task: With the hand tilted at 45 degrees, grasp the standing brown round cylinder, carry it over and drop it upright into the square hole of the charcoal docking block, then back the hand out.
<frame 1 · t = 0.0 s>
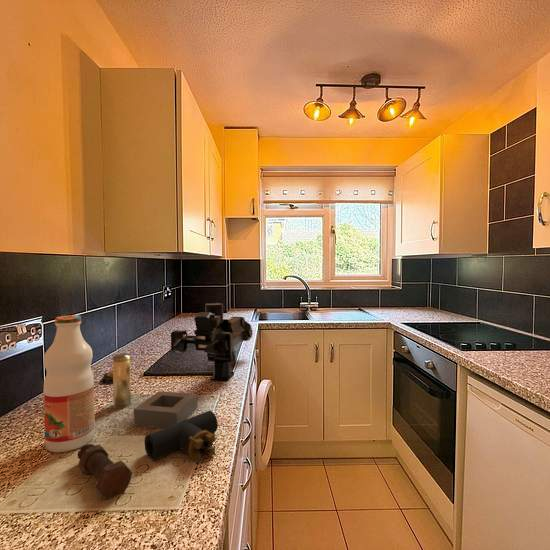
hand: (188, 349, 87), 17 cm above the worktop, tool horizontal, fingers open, 9 cm apart
docking block: (167, 416, 83), on the worktop
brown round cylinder: (122, 404, 90), on the worktop
bread roll: (115, 381, 111), on the worktop
pipe connector: (191, 451, 68), on the worktop
bolt: (100, 478, 60), on the worktop
fruit juice: (70, 442, 71), on the worktop
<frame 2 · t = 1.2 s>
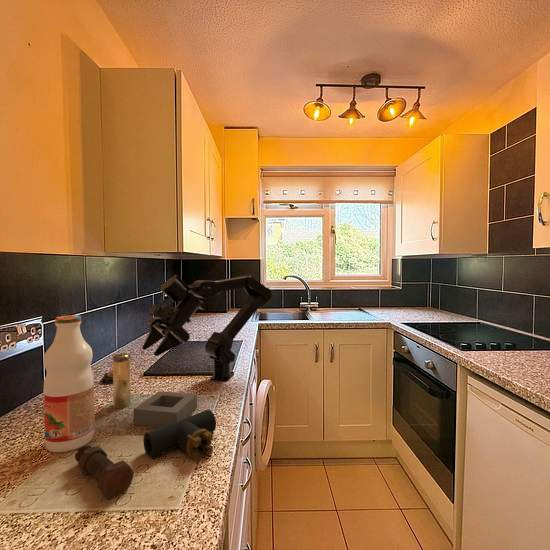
hand: (148, 352, 95), 14 cm above the worktop, tool tilted 45°, fingers open, 9 cm apart
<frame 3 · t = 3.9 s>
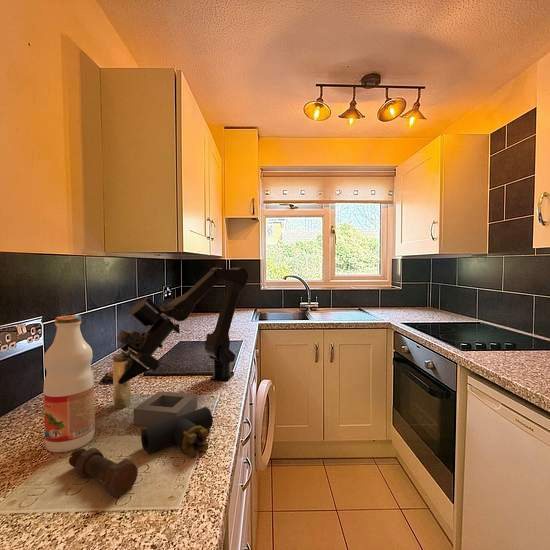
hand: (116, 381, 89), 7 cm above the worktop, tool tilted 45°, fingers closed on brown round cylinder, 4 cm apart
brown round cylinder: (122, 404, 90), on the worktop, touching gripper
pipe connector: (186, 446, 70), on the worktop
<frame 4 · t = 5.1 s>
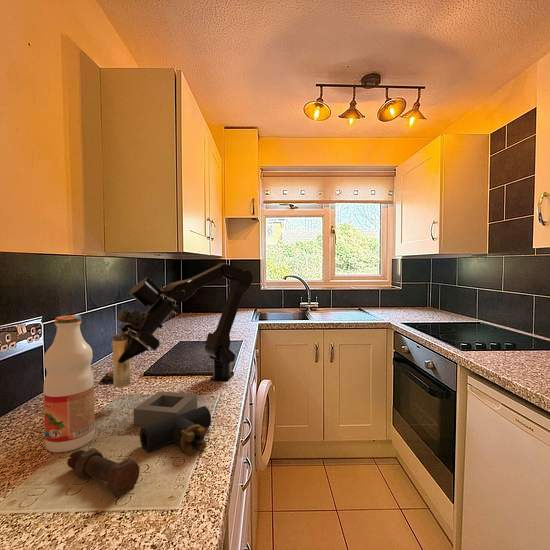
hand: (116, 360, 89), 13 cm above the worktop, tool tilted 45°, fingers closed on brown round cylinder, 4 cm apart
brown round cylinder: (122, 384, 90), point 6 cm above the worktop, touching gripper
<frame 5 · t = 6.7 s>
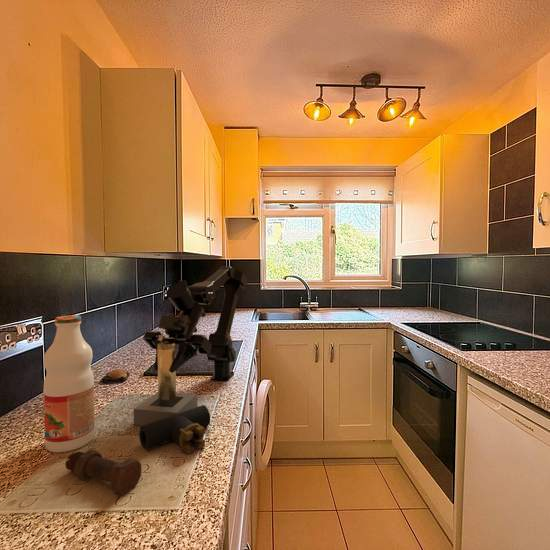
hand: (163, 371, 82), 12 cm above the worktop, tool tilted 45°, fingers closed on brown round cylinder, 4 cm apart
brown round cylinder: (167, 396, 83), point 5 cm above the worktop, touching gripper
when the fingers open (8 cm above the worktop, at t = 8.2 s): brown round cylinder drops 1 cm, resting in docking block.
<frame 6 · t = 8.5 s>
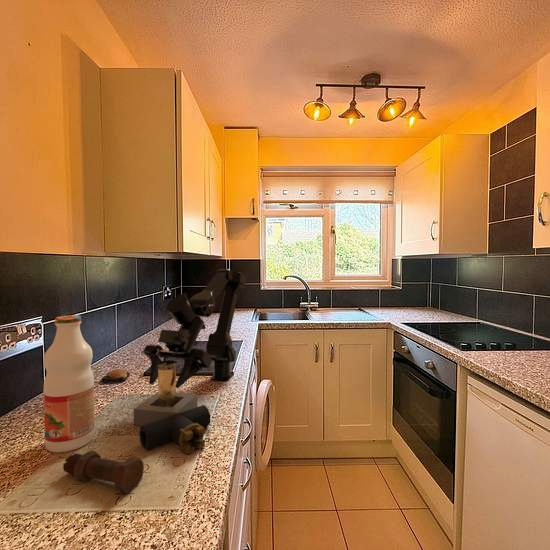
hand: (163, 385, 82), 9 cm above the worktop, tool tilted 45°, fingers open, 8 cm apart
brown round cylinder: (167, 416, 83), resting in docking block
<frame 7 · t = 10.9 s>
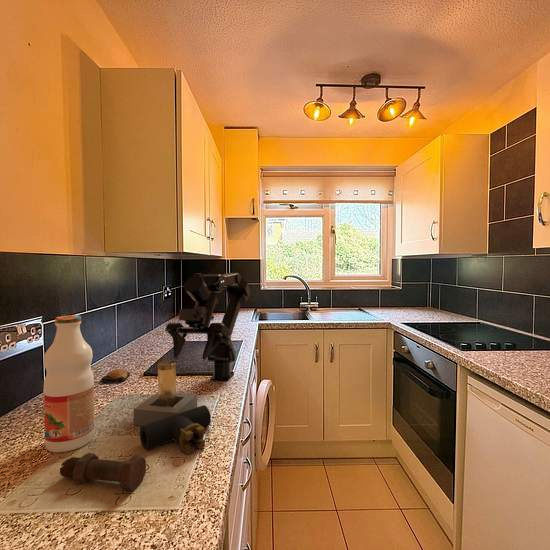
hand: (189, 358, 90), 13 cm above the worktop, tool tilted 35°, fingers open, 9 cm apart
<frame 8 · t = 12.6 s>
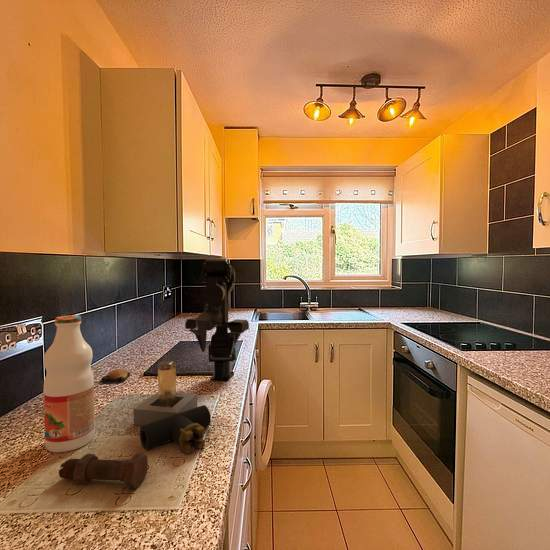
hand: (217, 352, 96), 13 cm above the worktop, tool pointing down, fingers open, 9 cm apart
at the end: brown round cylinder 0.0 cm off-centre on the docking block, point 0.0 cm above the docking block's base; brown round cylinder tilted 0°; the gripper is holding nothing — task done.
